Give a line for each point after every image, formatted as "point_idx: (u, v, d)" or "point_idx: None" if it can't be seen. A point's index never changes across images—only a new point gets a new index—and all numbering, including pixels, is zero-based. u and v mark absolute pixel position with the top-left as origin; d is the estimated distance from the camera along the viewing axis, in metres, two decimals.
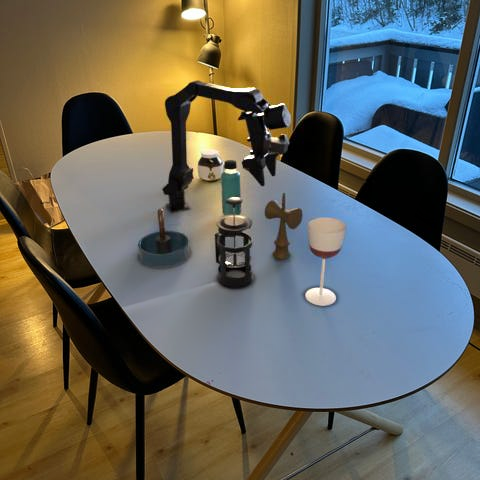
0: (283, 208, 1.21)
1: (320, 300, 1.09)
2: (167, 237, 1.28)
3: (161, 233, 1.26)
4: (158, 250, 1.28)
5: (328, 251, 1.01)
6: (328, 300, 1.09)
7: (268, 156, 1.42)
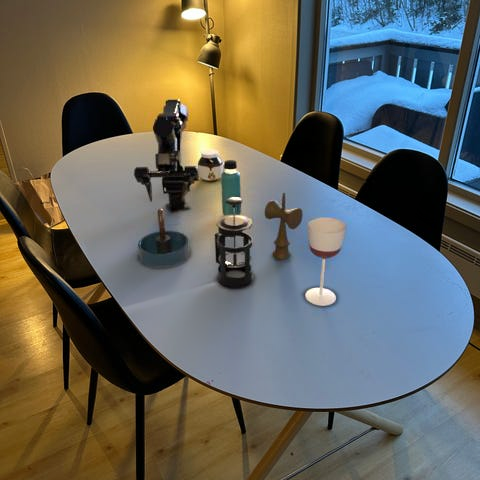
0: (283, 208, 1.21)
1: (320, 300, 1.09)
2: (167, 237, 1.28)
3: (161, 233, 1.26)
4: (158, 250, 1.28)
5: (328, 251, 1.01)
6: (328, 300, 1.09)
7: None
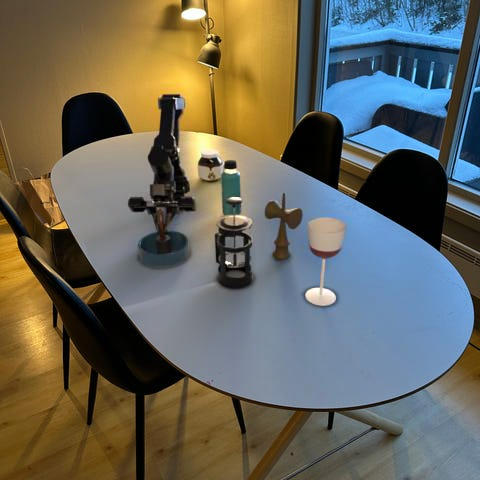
0: (283, 208, 1.21)
1: (320, 300, 1.09)
2: (167, 237, 1.28)
3: (161, 233, 1.26)
4: (158, 250, 1.28)
5: (328, 251, 1.01)
6: (328, 300, 1.09)
7: None
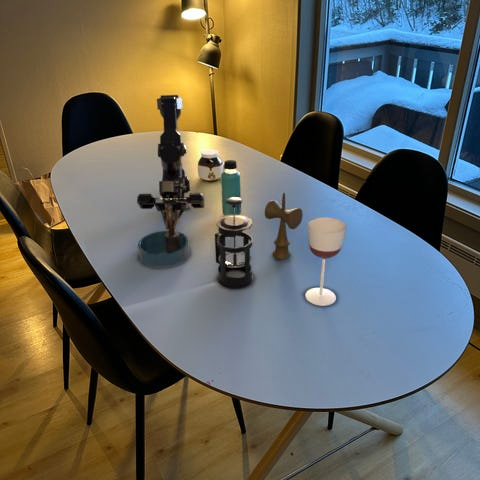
0: (283, 208, 1.21)
1: (320, 300, 1.09)
2: (176, 233, 1.29)
3: (170, 229, 1.27)
4: (167, 246, 1.29)
5: (328, 251, 1.01)
6: (328, 300, 1.09)
7: None
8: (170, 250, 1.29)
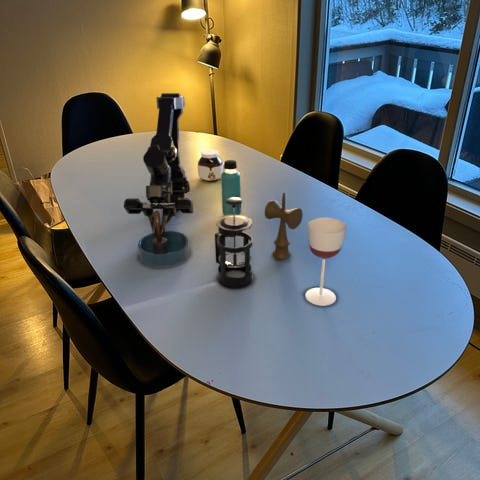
0: (283, 208, 1.21)
1: (320, 300, 1.09)
2: (164, 239, 1.25)
3: (157, 235, 1.23)
4: (154, 253, 1.25)
5: (328, 251, 1.01)
6: (328, 300, 1.09)
7: None
8: None
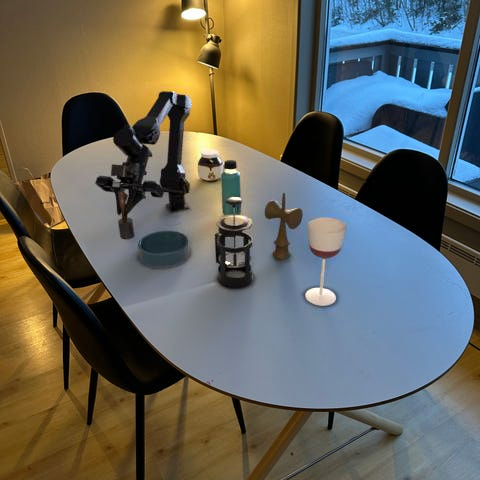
0: (283, 208, 1.21)
1: (320, 300, 1.09)
2: (129, 220, 1.25)
3: (122, 215, 1.24)
4: None
5: (328, 251, 1.01)
6: (328, 300, 1.09)
7: None
8: (122, 236, 1.26)
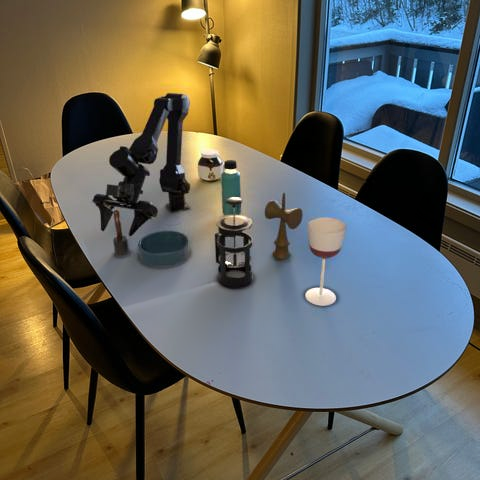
0: (283, 208, 1.21)
1: (320, 300, 1.09)
2: (124, 239, 1.28)
3: (117, 234, 1.27)
4: None
5: (328, 251, 1.01)
6: (328, 300, 1.09)
7: None
8: (116, 254, 1.29)
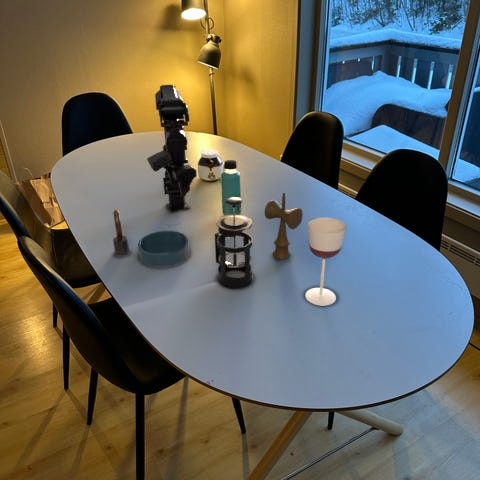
0: (283, 208, 1.21)
1: (320, 300, 1.09)
2: (124, 239, 1.28)
3: (117, 234, 1.27)
4: None
5: (328, 251, 1.01)
6: (328, 300, 1.09)
7: None
8: (116, 254, 1.29)
